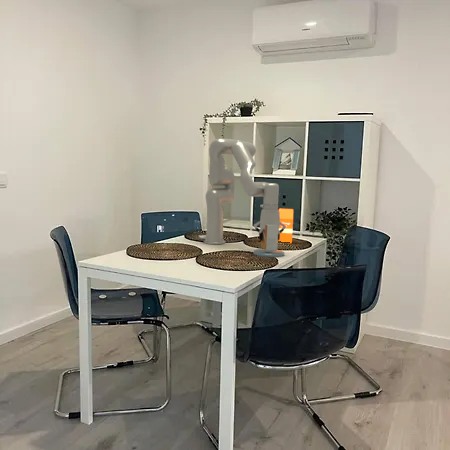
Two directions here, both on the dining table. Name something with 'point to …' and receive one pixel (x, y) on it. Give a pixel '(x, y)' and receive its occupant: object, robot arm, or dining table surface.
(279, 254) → the dish
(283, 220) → the orange juice
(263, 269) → the dining table surface
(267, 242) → the small box
